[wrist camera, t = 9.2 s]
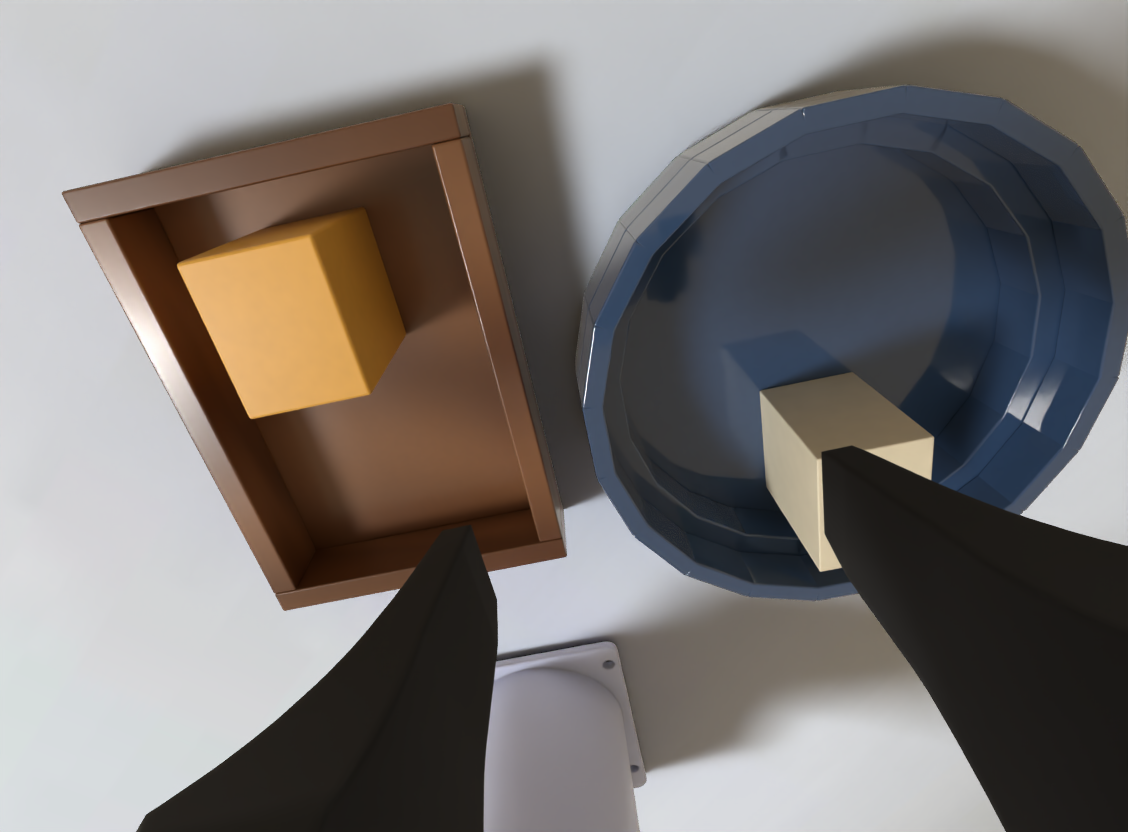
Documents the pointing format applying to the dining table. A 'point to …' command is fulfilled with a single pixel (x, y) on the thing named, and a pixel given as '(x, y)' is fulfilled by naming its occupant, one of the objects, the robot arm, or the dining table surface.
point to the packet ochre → (299, 311)
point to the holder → (405, 390)
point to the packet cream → (830, 446)
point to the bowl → (849, 313)
